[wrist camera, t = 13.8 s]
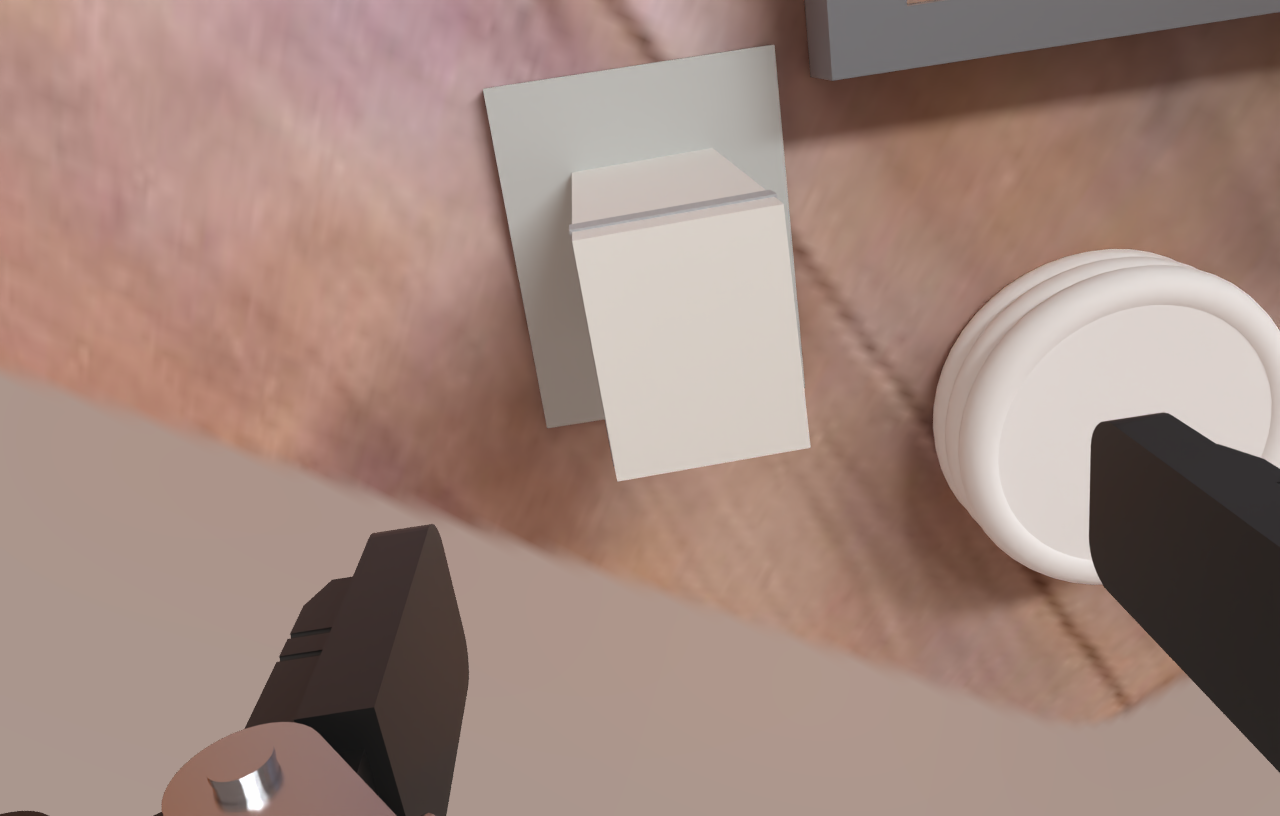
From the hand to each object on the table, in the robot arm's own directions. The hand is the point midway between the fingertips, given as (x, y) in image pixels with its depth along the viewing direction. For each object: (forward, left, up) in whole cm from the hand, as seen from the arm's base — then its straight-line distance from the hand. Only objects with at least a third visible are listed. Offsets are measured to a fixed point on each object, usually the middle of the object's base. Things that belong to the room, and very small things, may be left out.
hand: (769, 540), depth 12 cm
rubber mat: (0, 0, -18) cm, 18 cm away
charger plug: (0, 0, -18) cm, 18 cm away
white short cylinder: (-13, +7, -19) cm, 24 cm away
